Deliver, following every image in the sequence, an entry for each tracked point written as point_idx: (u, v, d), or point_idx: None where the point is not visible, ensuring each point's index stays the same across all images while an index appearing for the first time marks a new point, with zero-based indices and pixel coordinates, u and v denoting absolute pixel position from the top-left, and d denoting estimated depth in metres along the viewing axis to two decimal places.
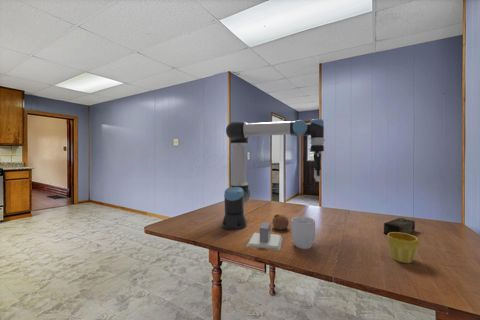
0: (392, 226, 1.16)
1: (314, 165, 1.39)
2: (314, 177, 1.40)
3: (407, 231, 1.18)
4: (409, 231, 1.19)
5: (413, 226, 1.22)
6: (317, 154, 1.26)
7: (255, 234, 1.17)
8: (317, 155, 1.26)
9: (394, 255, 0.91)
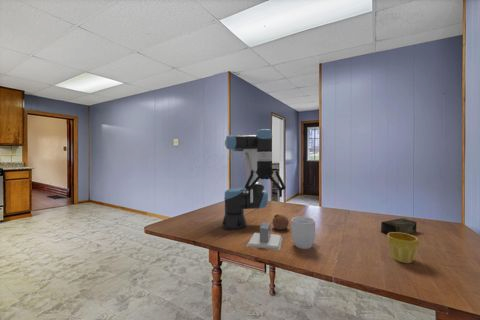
0: (388, 225, 1.17)
1: None
2: (278, 201, 1.09)
3: (406, 231, 1.18)
4: (408, 231, 1.19)
5: (414, 227, 1.21)
6: None
7: (255, 234, 1.17)
8: (251, 172, 1.11)
9: (394, 255, 0.91)
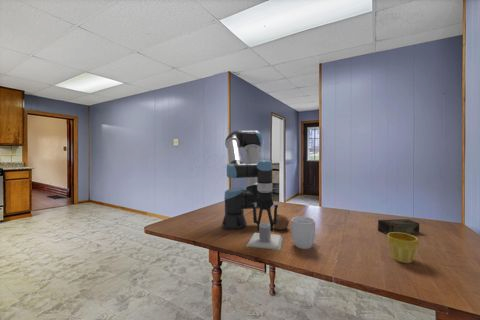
0: (383, 223, 1.20)
1: None
2: None
3: (403, 231, 1.18)
4: (407, 232, 1.18)
5: (416, 228, 1.19)
6: None
7: (255, 234, 1.17)
8: None
9: (394, 255, 0.91)
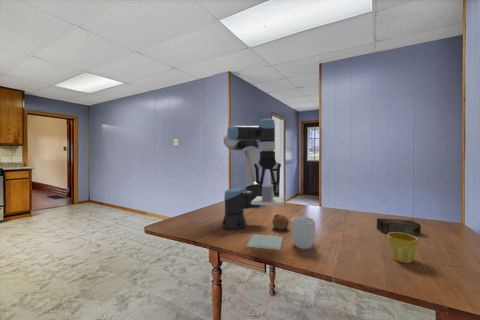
0: (379, 221, 1.24)
1: None
2: (272, 196, 1.10)
3: (400, 230, 1.19)
4: (406, 232, 1.18)
5: (417, 229, 1.17)
6: None
7: (258, 197, 1.15)
8: None
9: (394, 255, 0.91)
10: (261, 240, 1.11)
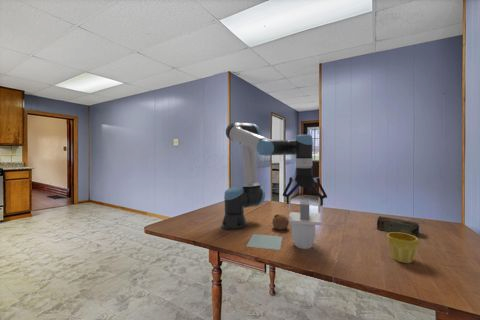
0: (378, 219, 1.28)
1: None
2: (318, 210, 1.05)
3: (396, 229, 1.20)
4: (402, 231, 1.19)
5: (414, 230, 1.15)
6: None
7: (292, 213, 1.11)
8: None
9: (394, 255, 0.91)
10: (261, 240, 1.11)
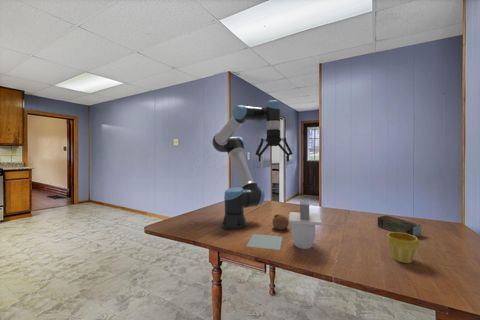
0: None
1: None
2: None
3: (393, 228, 1.22)
4: (398, 231, 1.20)
5: (409, 231, 1.15)
6: None
7: (291, 213, 1.11)
8: (261, 140, 1.24)
9: (394, 255, 0.91)
10: (261, 240, 1.11)
